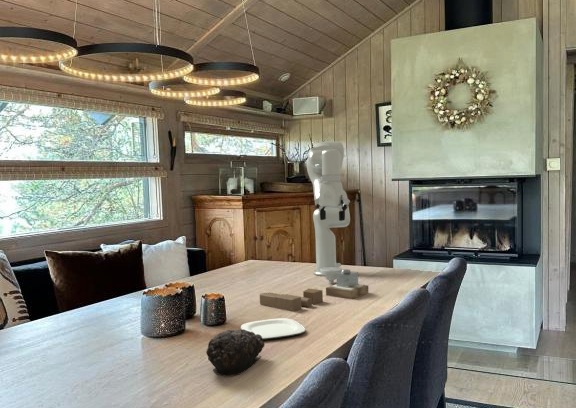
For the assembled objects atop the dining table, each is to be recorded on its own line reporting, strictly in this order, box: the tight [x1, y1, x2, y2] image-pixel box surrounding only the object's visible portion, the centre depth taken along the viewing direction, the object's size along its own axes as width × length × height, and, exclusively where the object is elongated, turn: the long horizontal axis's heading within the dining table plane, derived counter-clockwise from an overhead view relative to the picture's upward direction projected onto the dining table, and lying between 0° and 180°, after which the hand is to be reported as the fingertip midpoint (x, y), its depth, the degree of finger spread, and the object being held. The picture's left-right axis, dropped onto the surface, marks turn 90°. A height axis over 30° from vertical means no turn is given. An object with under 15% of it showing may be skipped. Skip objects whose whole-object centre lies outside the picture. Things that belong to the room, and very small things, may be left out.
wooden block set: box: [259, 288, 324, 312], centre depth 191 cm, size 17×6×18 cm
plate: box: [240, 317, 306, 340], centre depth 158 cm, size 18×18×2 cm
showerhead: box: [320, 267, 343, 285], centre depth 224 cm, size 9×7×10 cm
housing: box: [336, 268, 359, 288], centre depth 203 cm, size 7×6×6 cm
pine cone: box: [206, 329, 265, 377], centre depth 130 cm, size 10×18×10 cm, turn 157°
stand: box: [325, 283, 369, 300], centre depth 203 cm, size 12×12×3 cm
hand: (332, 220), depth 215 cm, fingers open, 9 cm apart
